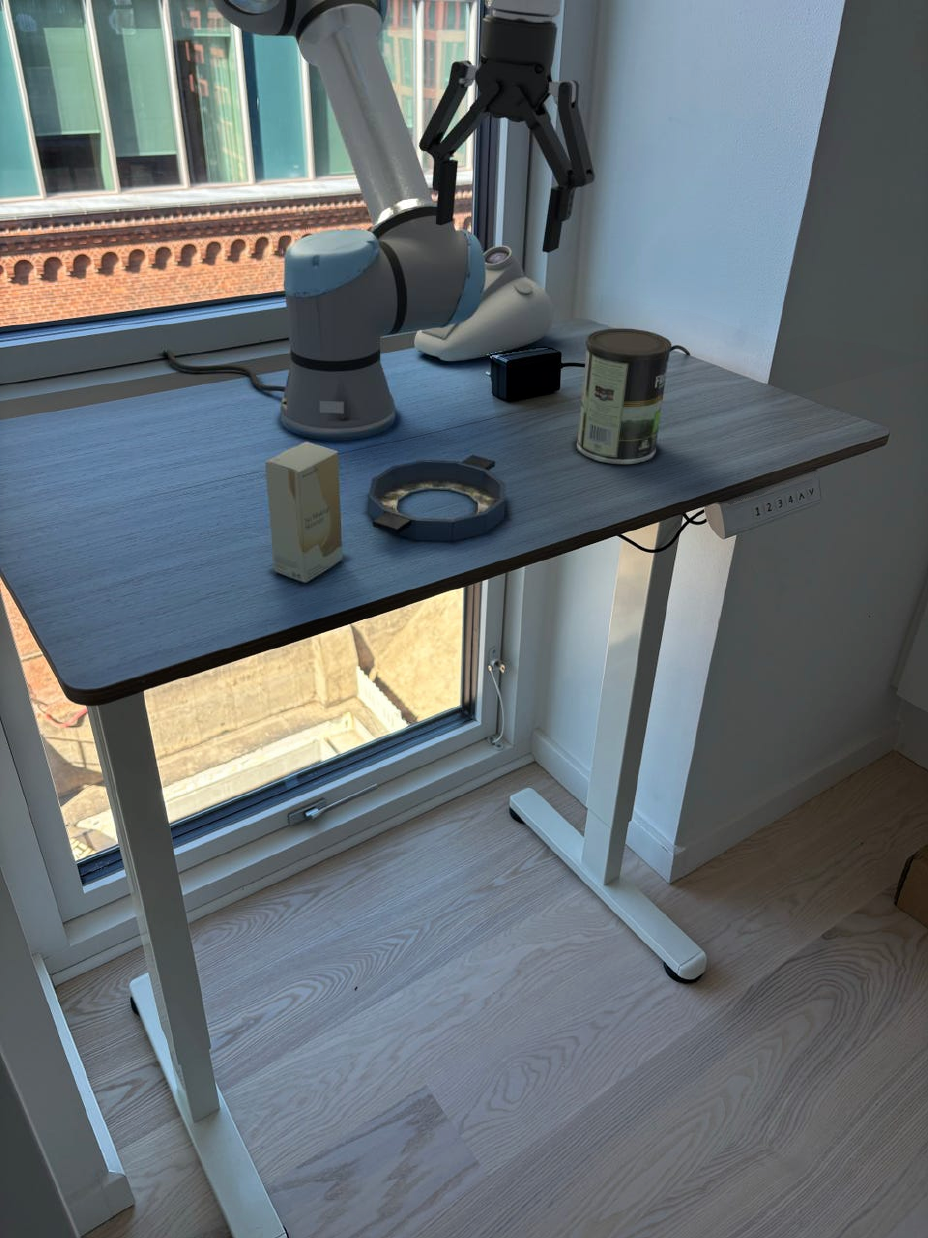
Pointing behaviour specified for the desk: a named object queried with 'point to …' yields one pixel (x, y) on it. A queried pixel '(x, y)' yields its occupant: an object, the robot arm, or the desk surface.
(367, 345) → the robot arm
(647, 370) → the coffee can
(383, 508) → the handled polygonal ring
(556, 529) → the desk surface
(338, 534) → the cosmetic box
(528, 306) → the projector
